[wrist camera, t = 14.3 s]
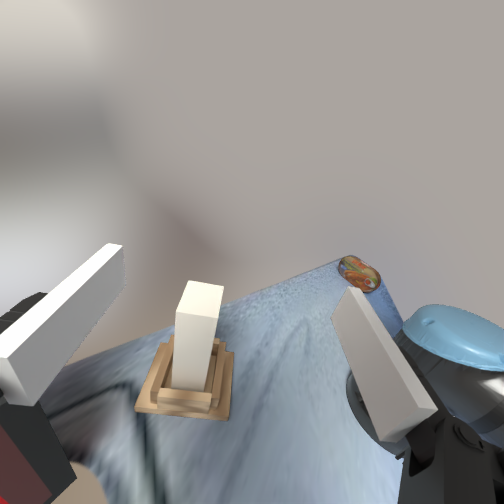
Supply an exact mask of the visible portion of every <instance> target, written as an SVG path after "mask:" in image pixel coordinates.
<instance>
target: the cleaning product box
mask: <svg viewBox="0 0 504 504" xmlns="http://www.w3.org/2000/svg"><path fill="white" fill-rule="evenodd" d="M75 479H77V477H76V475H75V473H74V471H73V469H72V467H71V465H70V463H69V461H68V459H67V457H66V455H65V453H64V451H63V449H62V447H61V445H60V443H59V441H58V439H57V437H56V435H55V433H54V431H53V429H52V427H51V425H50V423H49V421H48V419H47V417H46V415H45V413H44V411H43V409H42V407H41V405H40V403H39V401H37V402H36V403H35V405H34V406H25V405H15V404H9V403H8V402H7V400H6V399H5V397H4V395H3V396H2V397H1V398H0V504H51V503H52V502H53V501H54V500H55V499H56V498H57V497H58V496H59V495H60V494H61V493H62V492H63V491H64V490H65V489H66V488H67V487H68V486H69V485H70V484H71V483H72V482H74V481H75Z"/></svg>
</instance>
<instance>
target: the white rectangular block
mask: <svg viewBox="0 0 504 504" xmlns="http://www.w3.org/2000/svg"><path fill="white" fill-rule="evenodd" d="M223 288H224V287H223V286H218V285H212V284H206V283H200V282H195V281H188V283H187V286H186V289H185V291H184V293H183V296H182V298H181V301H180V303H179V306H178V308H177V311H176V320H175V335H174V351H173V367H172V383H171V389H177V390H186V391H195V392H204V387H205V382H206V377H207V371H208V366H209V361H210V356H211V351H212V346H213V341H214V336H215V331H216V326H217V321H218V316H219V310H220V304H221V299H222V293H223Z"/></svg>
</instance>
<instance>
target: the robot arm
mask: <svg viewBox="0 0 504 504" xmlns="http://www.w3.org/2000/svg"><path fill="white" fill-rule="evenodd" d="M125 286H126V279H125V266H124V255H123V246H121V245H115V244H110V243H108V244H107V245H105V246H104V247H103V248H102V249H101V250H100V251H98V252H97V253H96V254H95V255H94V256H92V257H91V258H90V259H89V260H88V261H87V262H85V263H84V264H83V265H82V266H81V267H79V268H78V269H77V270H76V271H75V272H74V273H72V274H71V275H70V276H69V277H68V278H66V279H65V280H64V281H63V282H62V283H61V284H59V285H58V286H57V287H56V288H55V289H53V290H52V291H51V292H50V293H49V294H48V293H41V292H39V293H37V294H34V295H32V296H30V297H28V298H26V299H24V300H22V301H21V302H20V303H18V304H17V305H16V306H14V307H13V308H12V309H10V311H9V312H7V313H5V314H4V315H3V316H1V317H0V398H1V397H2V396H3V395H4V397H5V399H6V400H7V402H8V403H9V404H15V405H25V406H34V405H35V403H36V402H37V401H38V399H39V398H40V397H41V395H42V394H43V393H44V392H45V390H46V389H47V388H48V386H49V385H50V384H51V382H52V381H53V380H54V379H55V377H56V376H57V375H58V373H59V372H60V371H61V369H62V368H63V367H64V365H65V364H66V363H67V361H68V360H69V359H70V357H71V356H72V355H73V353H74V352H75V351H76V350H77V348H78V347H79V346H80V345H81V343H82V342H83V341H84V339H85V338H86V337H87V335H88V334H89V333H90V332H91V330H92V329H93V328H94V326H95V325H96V324H97V322H98V321H99V320H100V318H101V317H102V316H103V315H104V313H105V312H106V311H107V309H108V308H109V307H110V305H111V304H112V303H113V301H114V300H115V299H116V297H117V296H118V295H119V293H120V292H121V291H122V290H123V288H124V287H125ZM331 320H332V323H333V325H334V328H335V330H336V333H337V335H338V338H339V340H340V343H341V345H342V348H343V350H344V353H345V355H346V358H347V360H348V363H349V365H350V368H351V370H352V374H351V375H350V376H349V378H348V381H347V387H346V389H347V397H348V401H349V404H350V406H351V409H352V411H353V413H354V415H355V417H356V418H357V420H358V421H359V423H360V424H361V426H362V427H363V428H364V430H365V431H366V432H367V433H368V434H369V435H370V436H371V437H372V438H373V439H374V440H375V441H376V442H377V443H378V444H379V445H380V446H382V447H383V448H384V449H386V450H387V451H389V452H391V453H392V454H394V455H396V457H395V458H396V459H397V460H399V459H400V458H404V462H403V463H402V464H403V469H402V476H401V483H400V490H399V497H398V504H504V329H502V328H501V327H499V326H498V325H496V324H494V323H492V322H490V321H488V320H486V319H484V318H482V317H480V316H478V315H475V314H473V313H471V312H468V311H465V310H462V309H459V308H456V307H452V306H446V305H439V304H432V305H426V306H423V307H421V308H419V309H418V310H417V311H416V312H415V313H414V314H413V315H412V317H411V318H410V319H408V320H406V321H405V322H404V323H403V325H402V326H403V327H402V329H401V330H400V331H399V333H398V334H397V335H396V336H395V337H394V339H392V337H391V336H390V334H389V333H388V331H387V330H386V328H385V326H384V325H383V323H382V322H381V320H380V319H379V317H378V316H377V314H376V313H375V311H374V309H373V308H372V306H371V305H370V303H369V302H368V300H367V299H366V297H365V296H364V294H363V292H362V291H361V289H360V288H356V287H350V286H348V287H347V289H346V291H345V293H344V295H343V296H342V298H341V300H340V302H339V304H338V305H337V307H336V309H335V311H334V313H333V314H332V316H331ZM453 416H455V417H453Z"/></svg>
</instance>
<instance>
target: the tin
mask: <svg viewBox="0 0 504 504" xmlns="http://www.w3.org/2000/svg"><path fill="white" fill-rule="evenodd" d="M339 272H340V274H341V276H342V277H343V278H345V279H346V280H347V281H349V282H350V283H351V284H352V285H354V286H355V287H356V288H360V289H361V291H362V292H371V291H374V290H376V289H377V288H378V287H379V286H380V283H381V277H380V275H379V273H378V272H377V271H376V270H375V269H374V268H372V267H371V266H369V265H367V264H366V263H364V262H363V261H361V260H360V259H358V258H357V257H353V256H346V257H344V258H342V259H341V261H340V263H339Z"/></svg>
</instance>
